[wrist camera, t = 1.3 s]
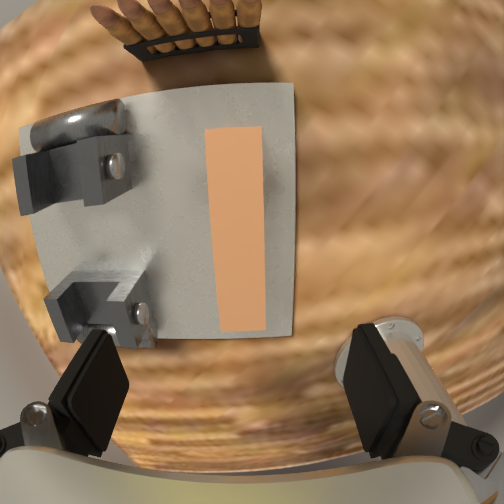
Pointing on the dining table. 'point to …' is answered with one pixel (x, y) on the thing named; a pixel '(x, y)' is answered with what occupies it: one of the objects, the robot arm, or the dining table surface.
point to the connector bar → (237, 225)
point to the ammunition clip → (181, 26)
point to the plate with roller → (151, 211)
